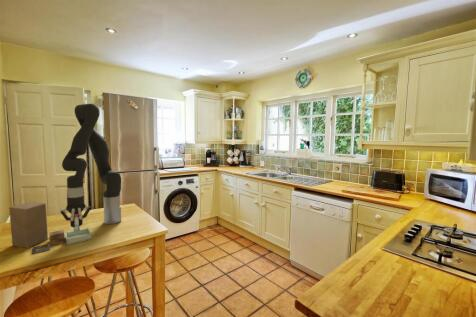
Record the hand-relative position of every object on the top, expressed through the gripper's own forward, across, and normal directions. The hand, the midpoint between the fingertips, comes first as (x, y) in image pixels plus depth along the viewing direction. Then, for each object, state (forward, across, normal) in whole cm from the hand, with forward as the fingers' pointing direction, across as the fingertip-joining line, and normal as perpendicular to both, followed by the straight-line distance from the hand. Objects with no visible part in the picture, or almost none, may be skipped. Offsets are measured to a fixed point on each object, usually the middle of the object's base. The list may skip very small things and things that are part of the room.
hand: (76, 226), depth 121 cm
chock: (+7, +8, -2) cm, 11 cm away
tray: (+7, -1, 0) cm, 7 cm away
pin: (+3, 0, 0) cm, 3 cm away
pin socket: (+7, +14, +4) cm, 16 cm away
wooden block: (+7, +19, -8) cm, 22 cm away
